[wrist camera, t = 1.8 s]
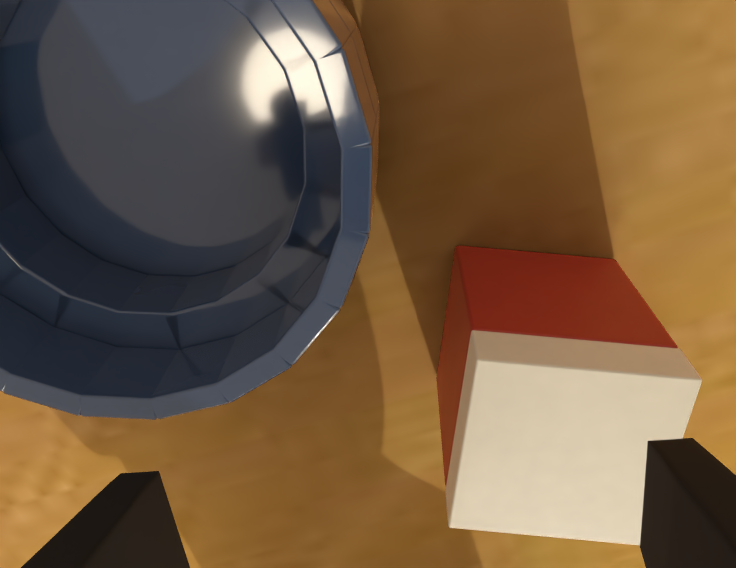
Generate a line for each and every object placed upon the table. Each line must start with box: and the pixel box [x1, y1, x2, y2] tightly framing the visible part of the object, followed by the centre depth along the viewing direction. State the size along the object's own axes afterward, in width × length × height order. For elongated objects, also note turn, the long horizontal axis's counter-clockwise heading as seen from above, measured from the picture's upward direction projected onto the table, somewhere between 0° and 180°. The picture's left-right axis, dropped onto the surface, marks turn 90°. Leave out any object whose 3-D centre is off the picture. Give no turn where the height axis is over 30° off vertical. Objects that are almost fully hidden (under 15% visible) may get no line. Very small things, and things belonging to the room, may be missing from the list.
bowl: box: [0, 0, 380, 420], centre depth 15 cm, size 11×11×5 cm
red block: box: [437, 246, 702, 545], centre depth 17 cm, size 4×4×6 cm
